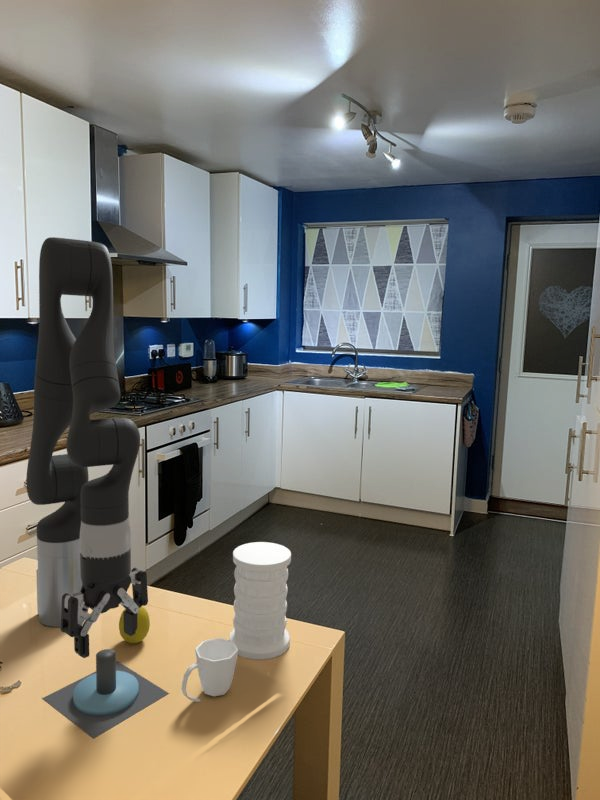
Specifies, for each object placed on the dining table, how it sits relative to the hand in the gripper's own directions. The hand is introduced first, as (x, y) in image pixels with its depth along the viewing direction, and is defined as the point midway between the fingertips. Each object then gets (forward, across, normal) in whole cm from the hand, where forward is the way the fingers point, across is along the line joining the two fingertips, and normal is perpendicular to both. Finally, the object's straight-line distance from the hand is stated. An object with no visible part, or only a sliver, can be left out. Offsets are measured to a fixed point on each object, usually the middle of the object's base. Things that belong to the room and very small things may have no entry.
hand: (107, 644), depth 98 cm
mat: (+10, 0, 0) cm, 10 cm away
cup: (+10, -11, +12) cm, 19 cm away
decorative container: (+10, -29, +7) cm, 31 cm away
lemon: (+10, -13, -10) cm, 19 cm away
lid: (+9, 0, 0) cm, 9 cm away
